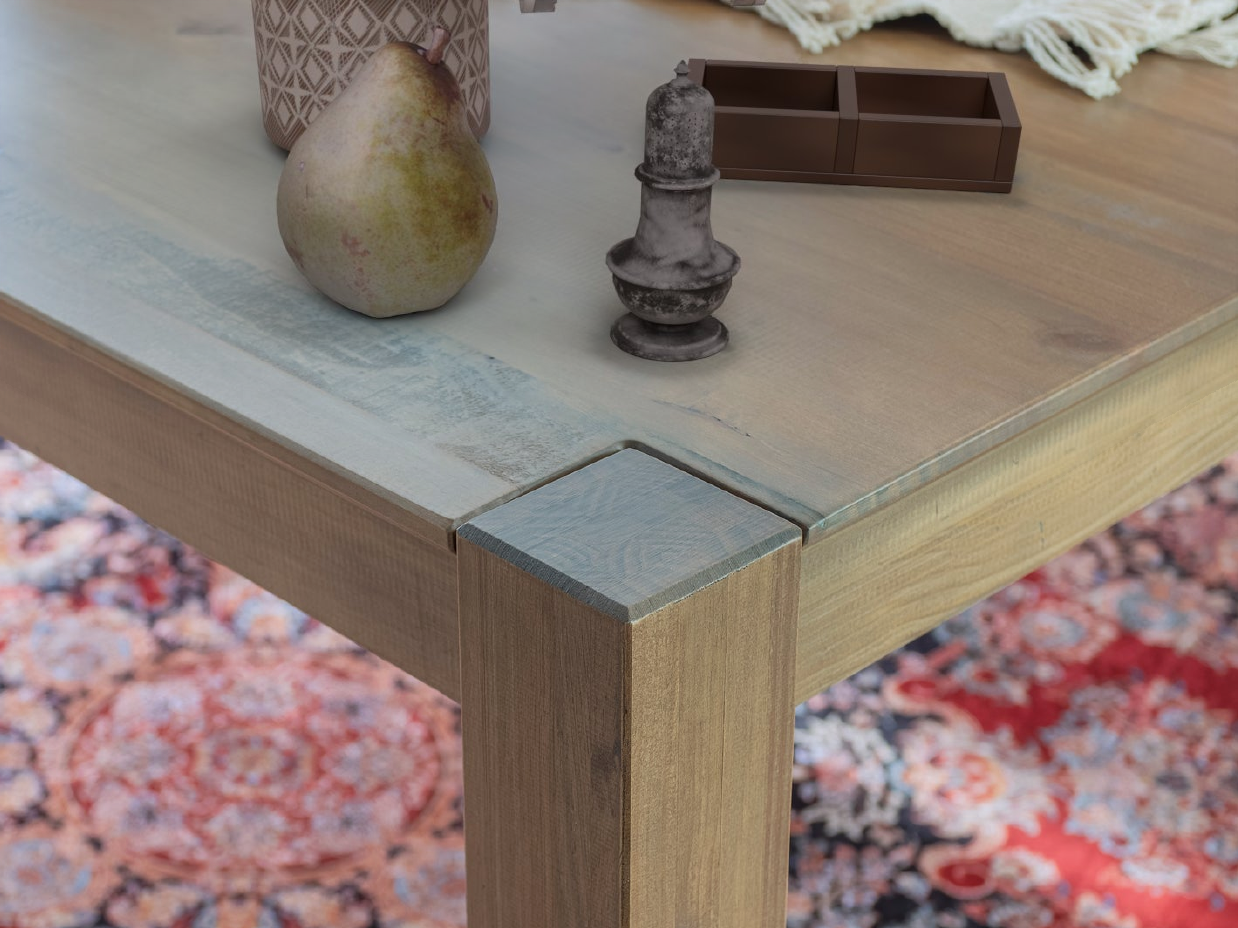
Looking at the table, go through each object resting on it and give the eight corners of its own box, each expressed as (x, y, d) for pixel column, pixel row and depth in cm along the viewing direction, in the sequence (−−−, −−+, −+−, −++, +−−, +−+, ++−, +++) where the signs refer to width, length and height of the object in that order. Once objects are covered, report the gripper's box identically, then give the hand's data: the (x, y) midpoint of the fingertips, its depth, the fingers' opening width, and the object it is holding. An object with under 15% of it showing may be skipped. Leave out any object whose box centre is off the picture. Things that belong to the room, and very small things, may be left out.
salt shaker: (762, 343, 73) (785, 67, 66) (655, 375, 71) (667, 91, 63) (682, 297, 77) (696, 31, 70) (577, 326, 74) (581, 53, 67)
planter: (520, 168, 91) (518, -32, 85) (291, 193, 87) (272, -13, 81) (454, 99, 100) (449, -85, 94) (246, 120, 97) (226, -70, 91)
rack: (994, 135, 96) (1004, 72, 94) (1011, 193, 89) (1022, 126, 87) (685, 120, 98) (688, 58, 96) (675, 176, 90) (678, 109, 88)
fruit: (541, 306, 76) (541, 38, 69) (378, 367, 71) (359, 83, 64) (402, 242, 82) (389, -12, 75) (242, 293, 77) (211, 26, 70)
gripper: (377, -335, 70) (410, -32, 68) (845, -336, 73) (890, -46, 71) (375, -232, 76) (405, 49, 74) (806, -237, 79) (847, 32, 77)
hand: (646, 2), depth 72 cm, fingers open, 8 cm apart
